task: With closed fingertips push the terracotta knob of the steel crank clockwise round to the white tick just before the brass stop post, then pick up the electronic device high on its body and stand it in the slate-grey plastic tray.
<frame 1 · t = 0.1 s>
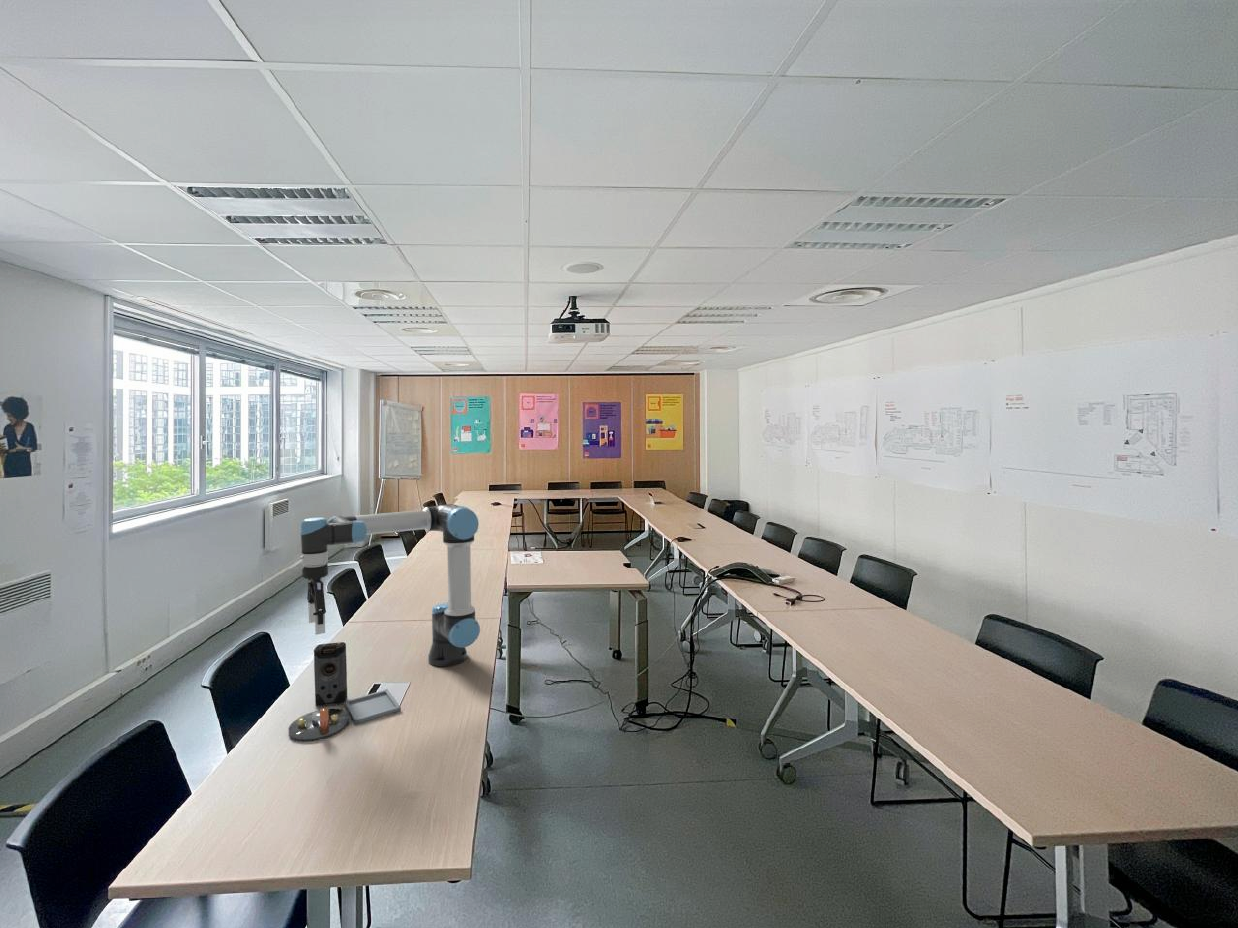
hand: (316, 627, 181), 28 cm above the table, fingers open, 13 cm apart
crank: (321, 715, 169), point 5 cm above the table, hinge at 90.0°
tray: (372, 708, 183), on the table
crank base: (320, 726, 172), on the table
electronic device: (331, 703, 188), on the table
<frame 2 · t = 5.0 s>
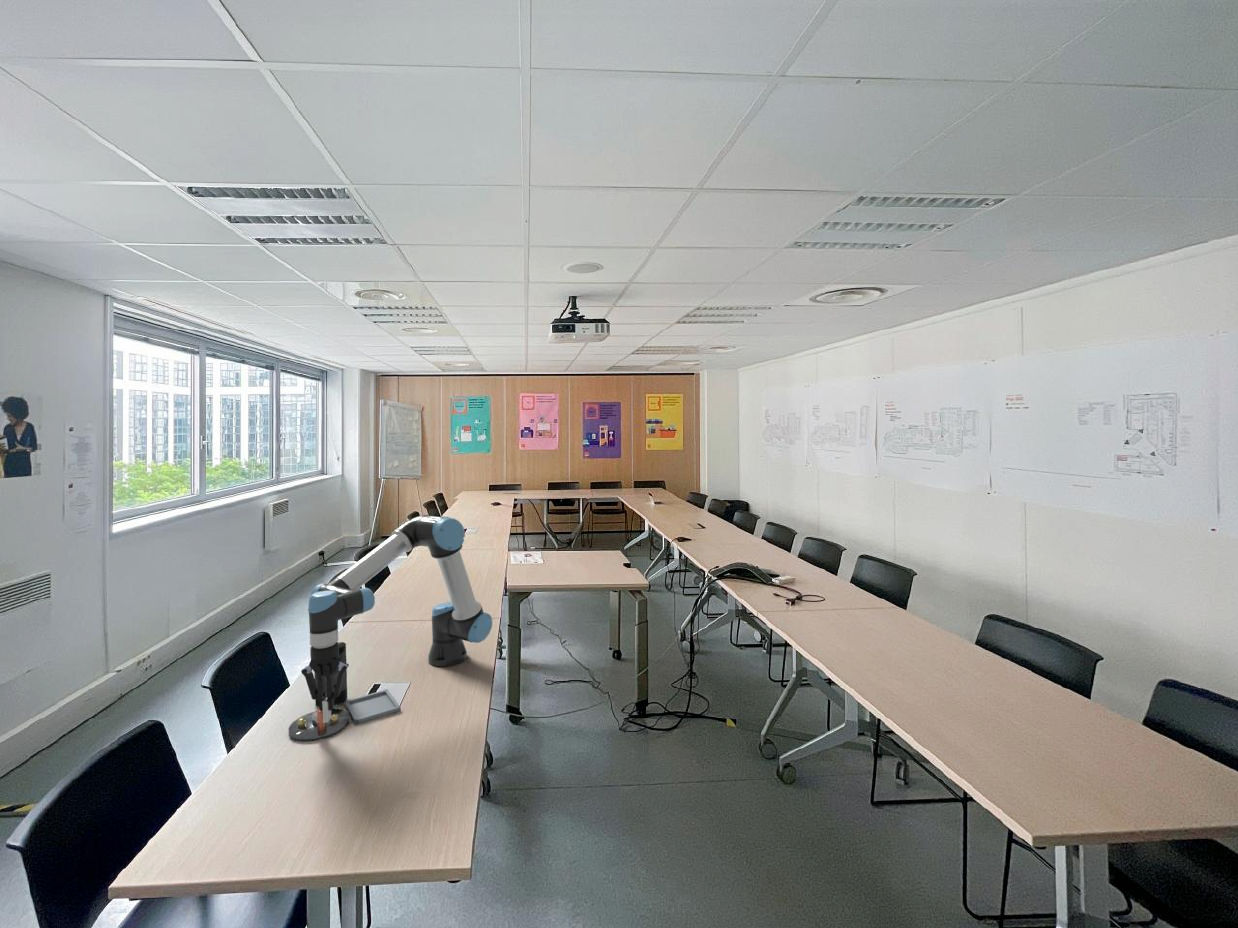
hand: (327, 720, 164), 6 cm above the table, fingers closed
crank: (320, 715, 169), point 5 cm above the table, hinge at 84.8°, touching gripper
everything else where it was.
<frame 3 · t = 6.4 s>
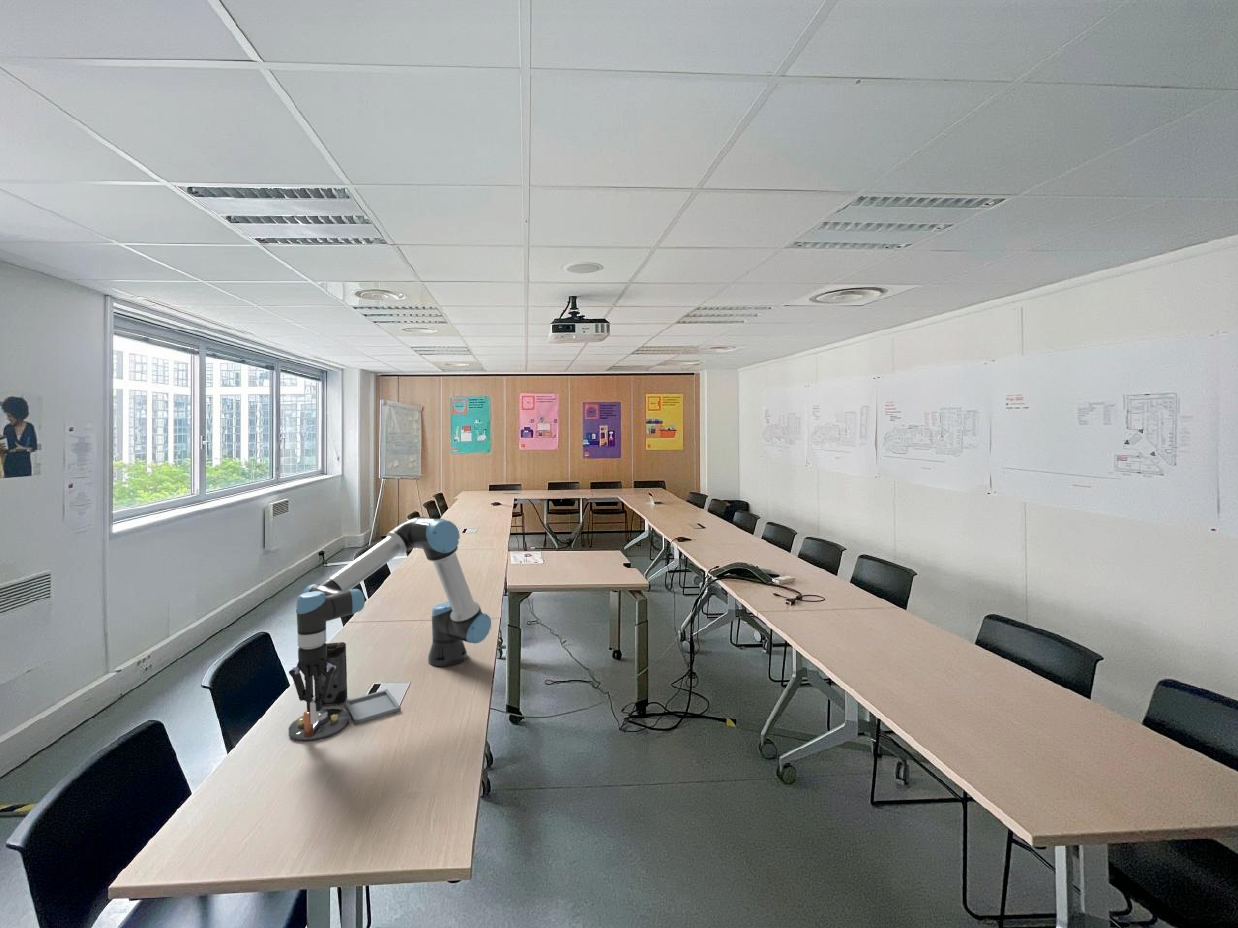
hand: (314, 721, 164), 6 cm above the table, fingers closed
crank: (314, 716, 168), point 5 cm above the table, hinge at 59.2°, touching gripper
everything else where it was.
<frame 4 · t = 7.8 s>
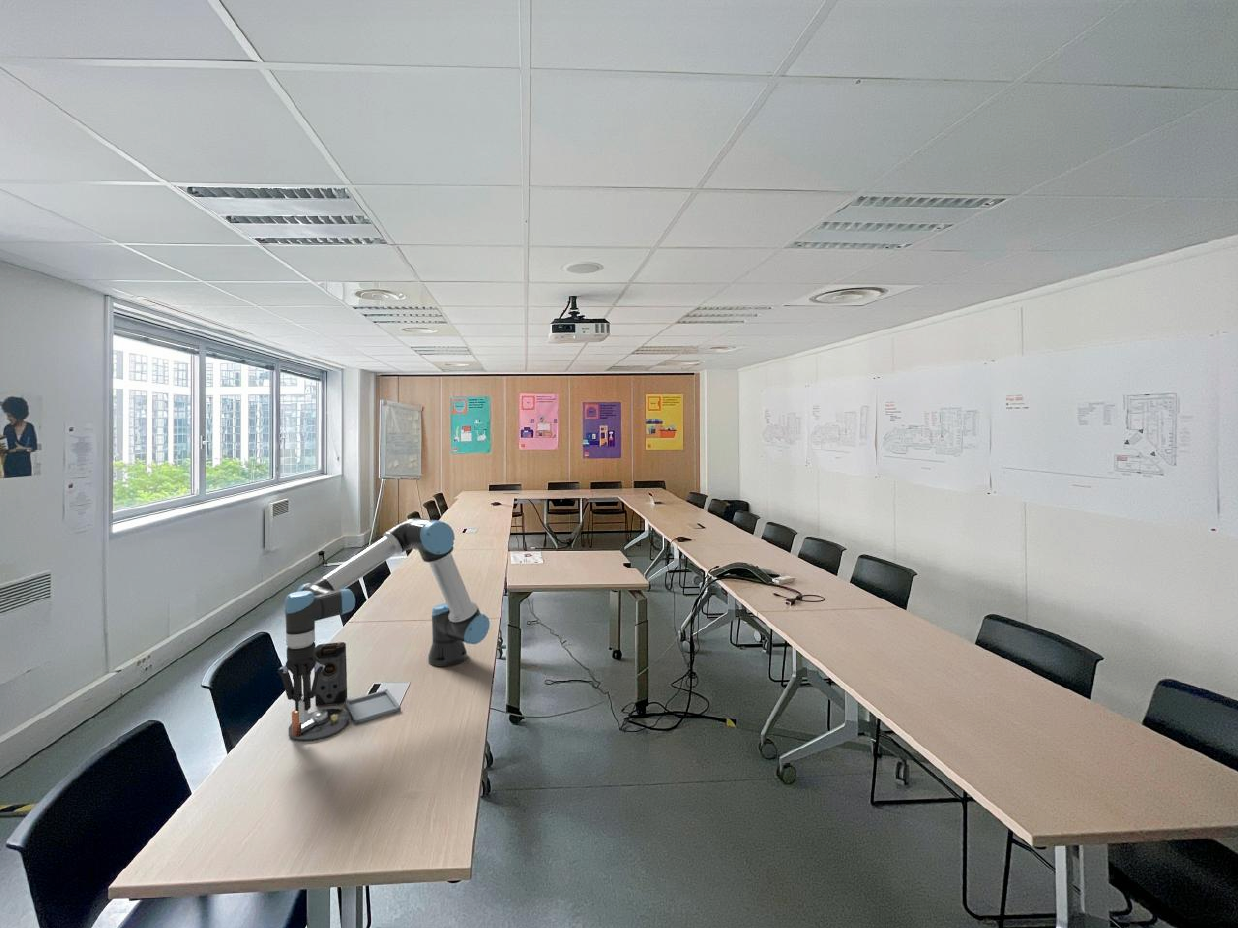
hand: (303, 720, 165), 6 cm above the table, fingers closed
crank: (309, 715, 168), point 5 cm above the table, hinge at 31.6°, touching gripper
everything else where it was.
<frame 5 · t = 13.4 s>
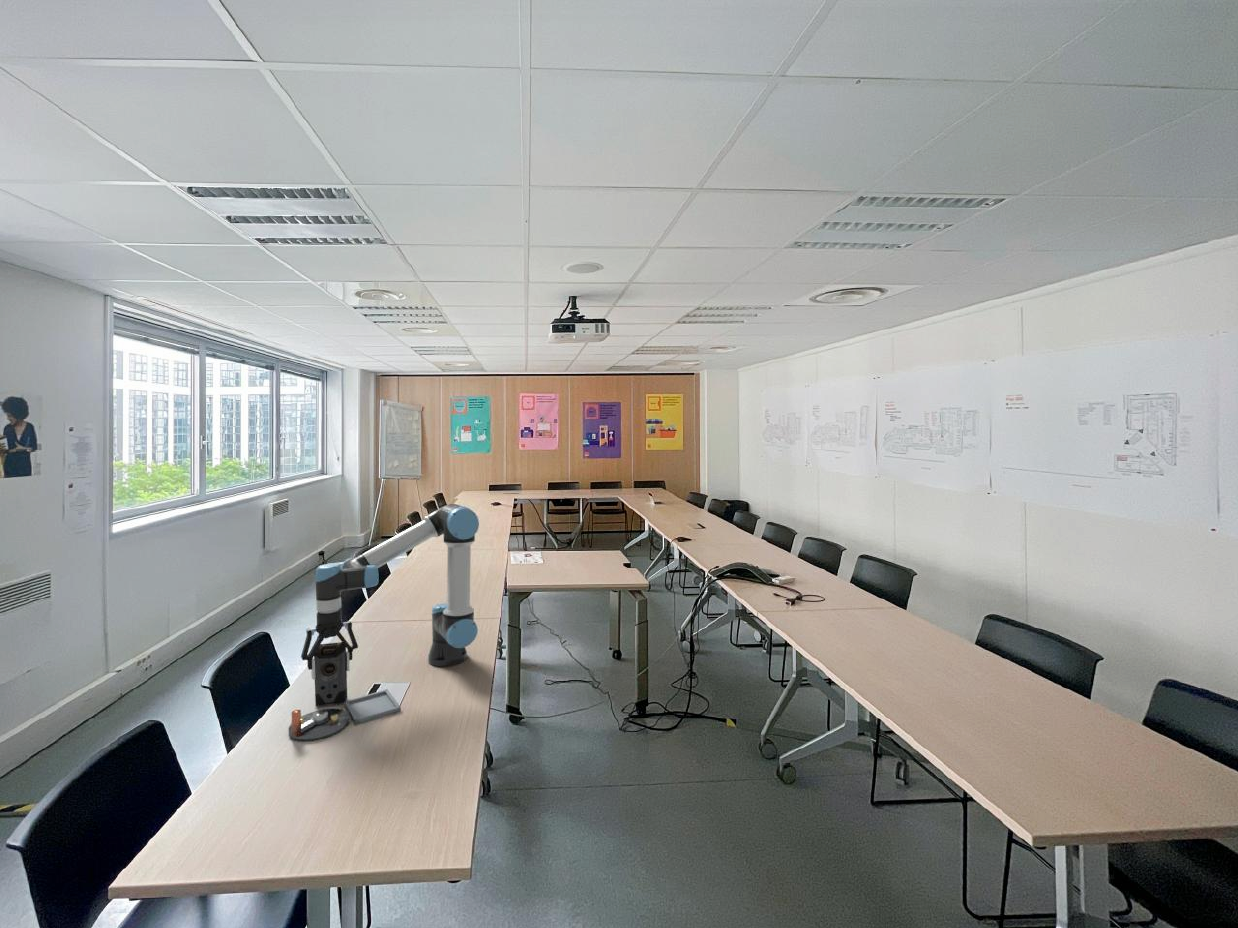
hand: (330, 673, 187), 10 cm above the table, fingers closed on electronic device, 10 cm apart
crank: (309, 715, 168), point 5 cm above the table, hinge at 30.8°
electronic device: (331, 703, 188), on the table, touching gripper
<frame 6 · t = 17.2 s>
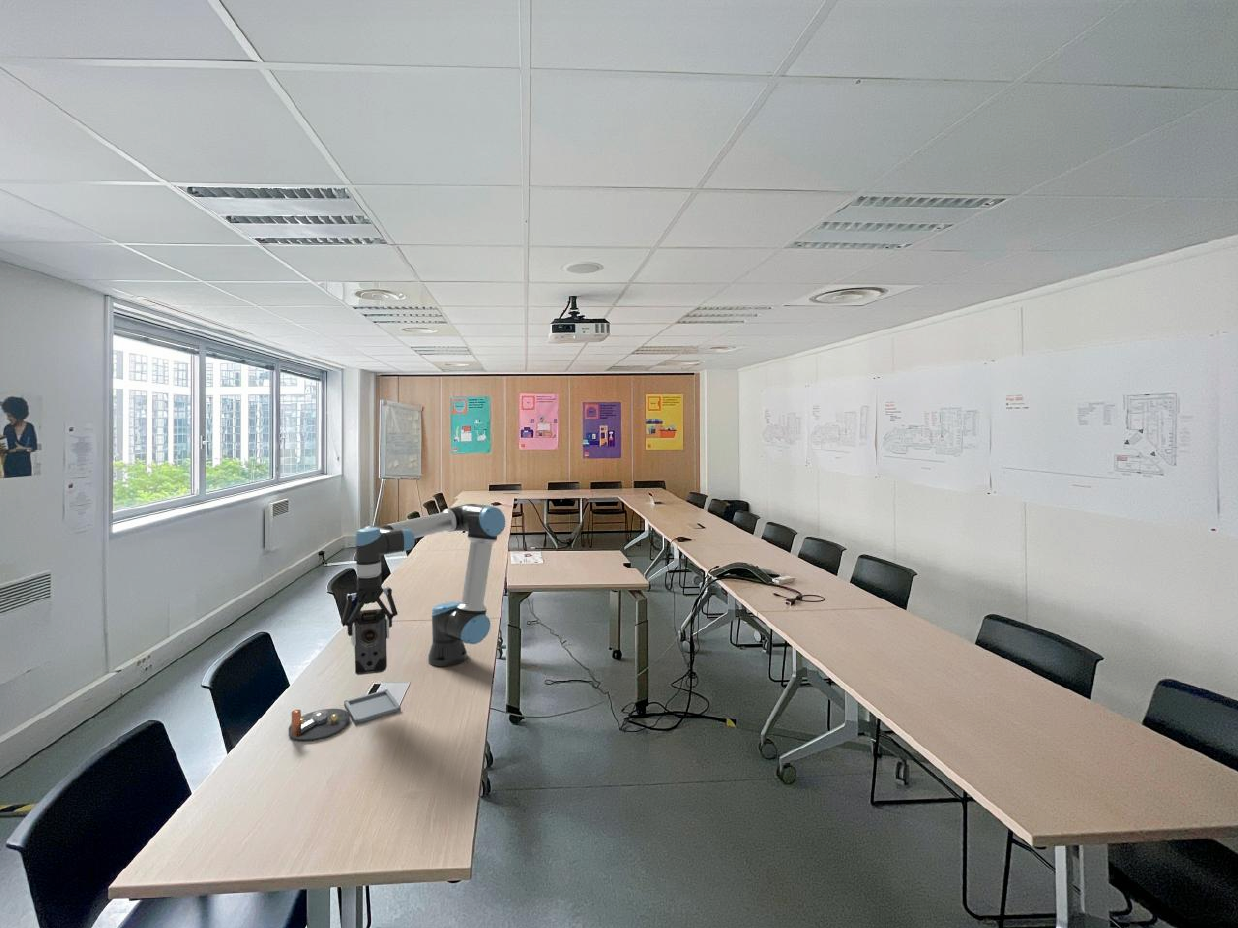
hand: (370, 640, 182), 23 cm above the table, fingers closed on electronic device, 10 cm apart
electronic device: (371, 671, 183), point 13 cm above the table, touching gripper
everything else where it was.
when the fingers open (12 cm above the table, at t = 21.4 s): electronic device stays where it is, resting on tray.
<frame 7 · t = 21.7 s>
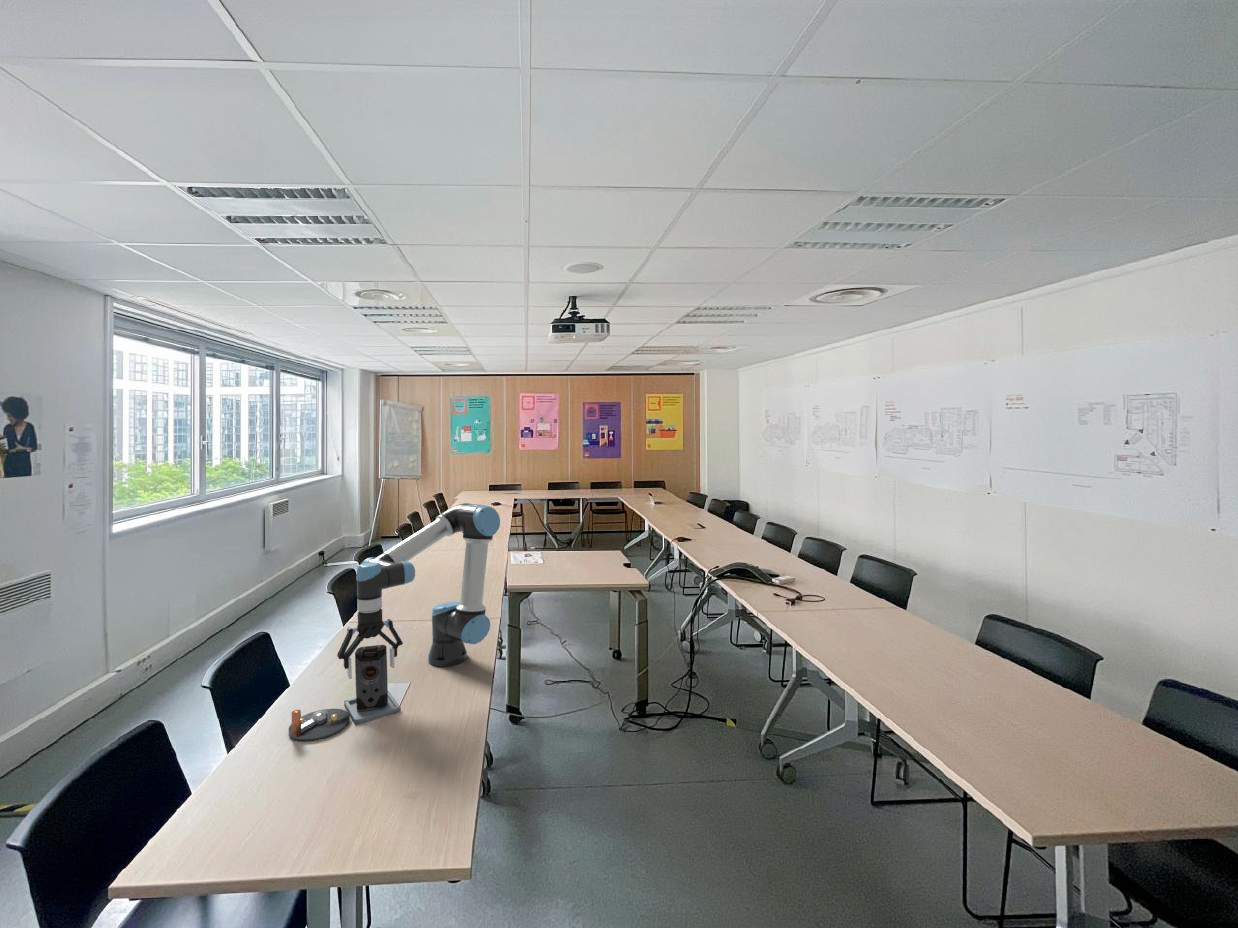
hand: (371, 672, 183), 13 cm above the table, fingers open, 13 cm apart
electronic device: (372, 707, 184), resting on tray
everything else where it was.
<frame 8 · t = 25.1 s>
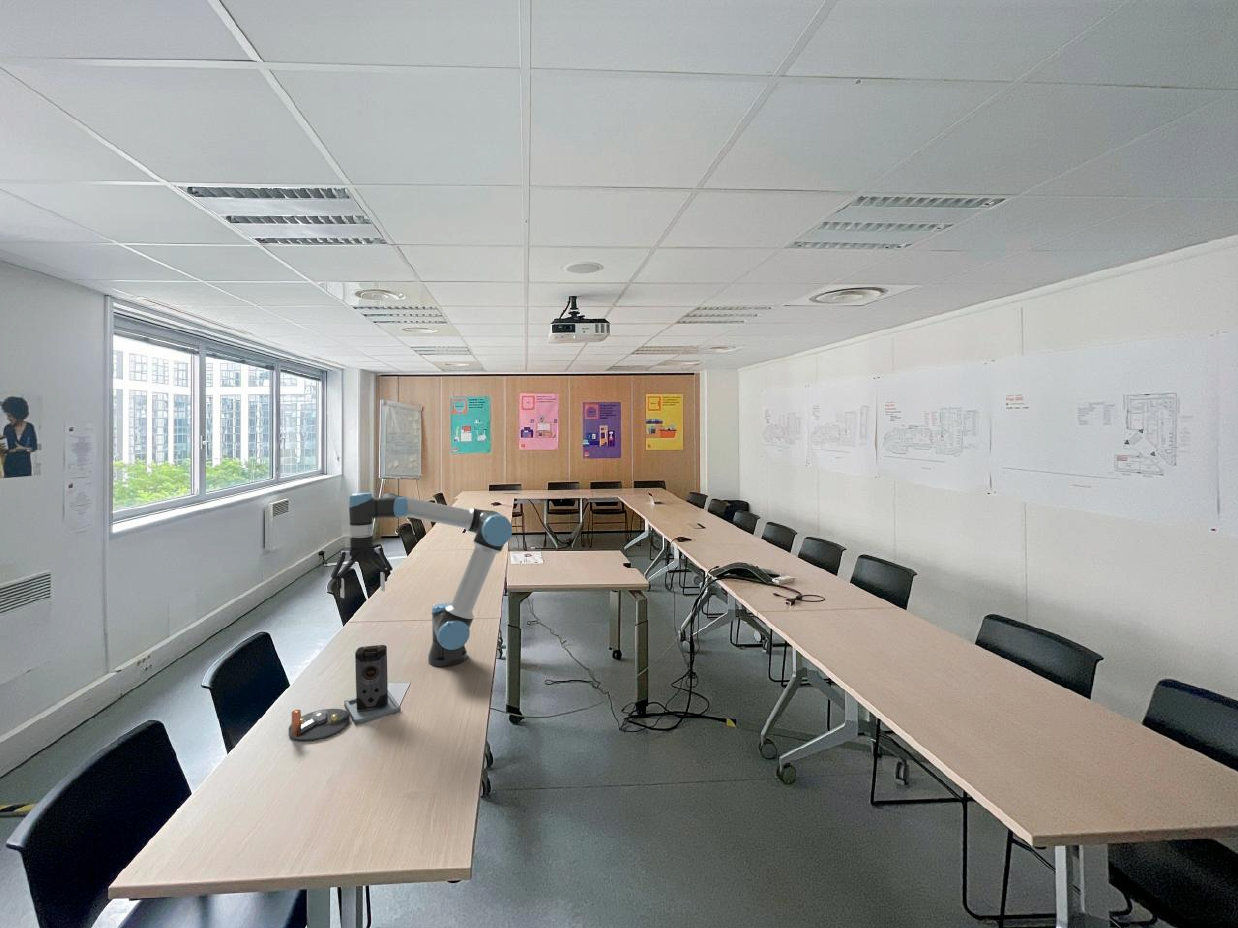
hand: (363, 594, 197), 35 cm above the table, fingers open, 13 cm apart
nothing on the table moved.
at the end: crank at +31° (first picture: +90°); electronic device 0.1 cm from the tray (horizontally); electronic device tilted 0° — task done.
